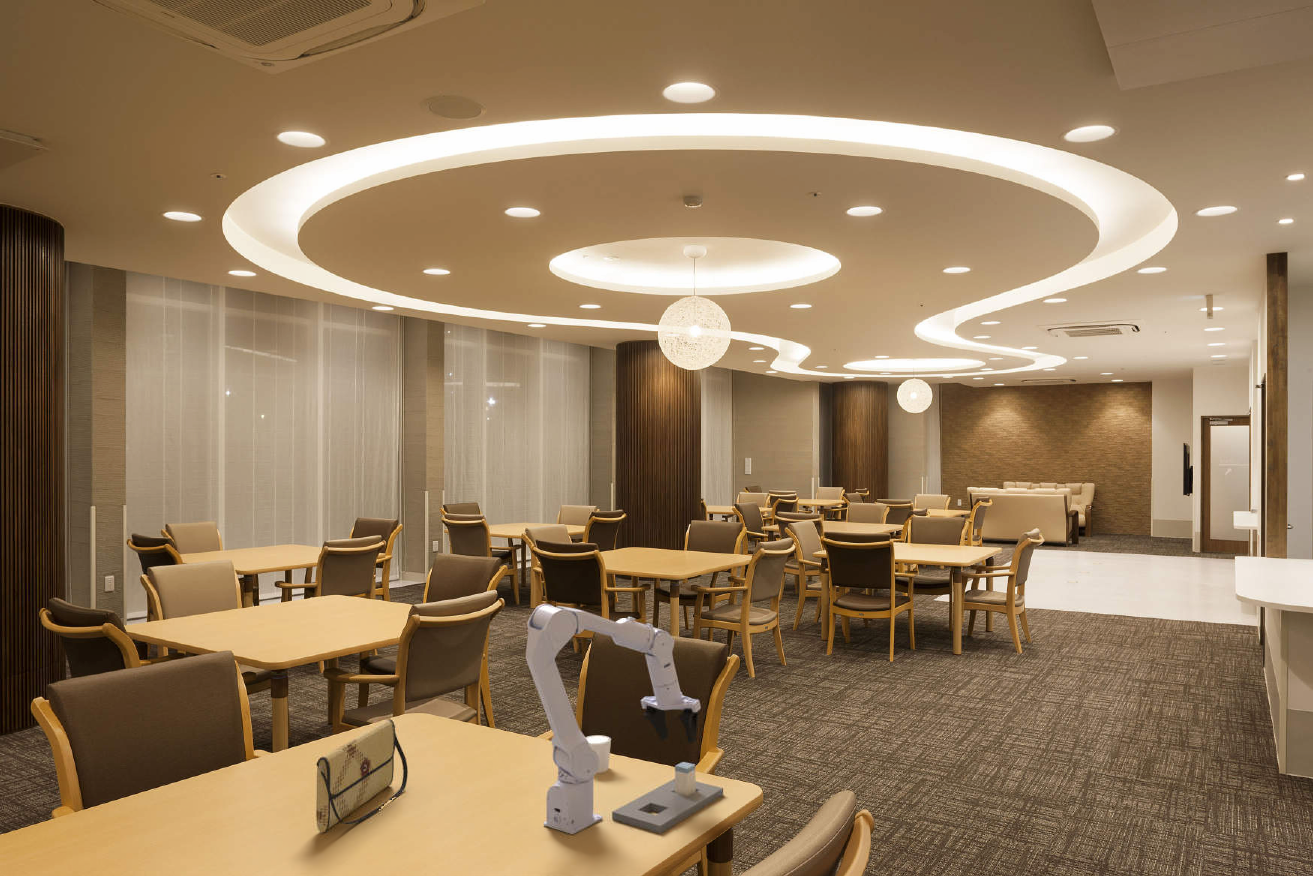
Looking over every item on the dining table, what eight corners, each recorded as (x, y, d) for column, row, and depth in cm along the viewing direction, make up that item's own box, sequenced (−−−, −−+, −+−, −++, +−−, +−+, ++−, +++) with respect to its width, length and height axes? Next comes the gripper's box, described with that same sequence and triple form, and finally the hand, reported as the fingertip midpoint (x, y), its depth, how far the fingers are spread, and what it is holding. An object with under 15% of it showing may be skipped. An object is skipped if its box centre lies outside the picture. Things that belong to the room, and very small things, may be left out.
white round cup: (613, 764, 203) (613, 735, 203) (608, 774, 196) (608, 744, 197) (585, 763, 204) (585, 734, 204) (579, 773, 197) (579, 743, 197)
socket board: (660, 833, 163) (660, 826, 164) (612, 819, 170) (612, 811, 170) (723, 795, 183) (723, 788, 183) (678, 783, 190) (677, 777, 190)
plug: (687, 802, 179) (687, 768, 180) (675, 798, 181) (675, 766, 182) (695, 797, 182) (695, 764, 182) (683, 794, 184) (683, 761, 184)
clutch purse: (342, 839, 162) (343, 761, 163) (310, 837, 163) (311, 759, 164) (415, 784, 191) (416, 717, 192) (387, 782, 192) (388, 716, 193)
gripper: (701, 674, 181) (715, 732, 183) (648, 672, 190) (661, 728, 191) (684, 689, 176) (699, 749, 177) (630, 686, 184) (644, 743, 185)
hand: (678, 739), depth 184 cm, fingers open, 7 cm apart
